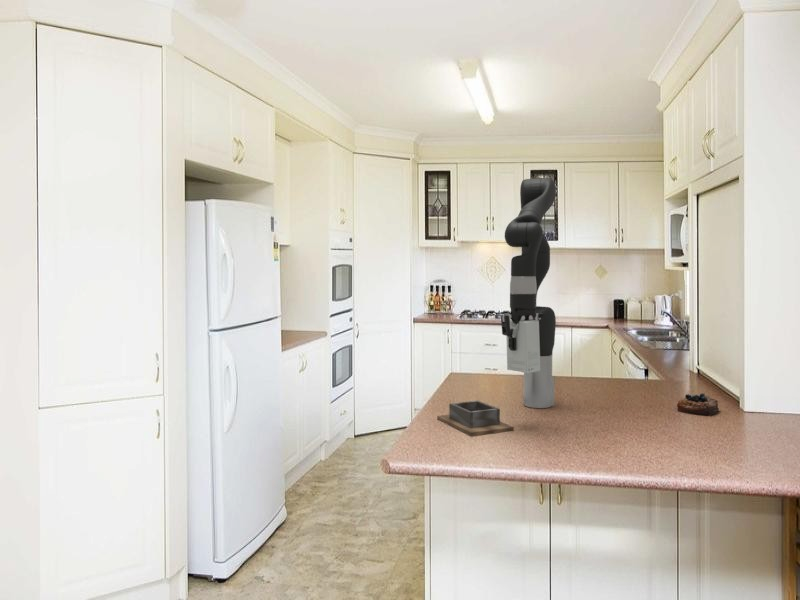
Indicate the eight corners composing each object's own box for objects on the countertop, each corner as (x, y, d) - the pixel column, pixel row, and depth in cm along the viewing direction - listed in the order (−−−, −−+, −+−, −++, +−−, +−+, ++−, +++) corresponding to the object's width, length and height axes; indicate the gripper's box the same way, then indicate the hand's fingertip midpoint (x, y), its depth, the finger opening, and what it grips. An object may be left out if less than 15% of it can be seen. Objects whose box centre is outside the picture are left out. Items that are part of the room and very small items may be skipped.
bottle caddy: (476, 414, 190) (476, 397, 189) (513, 430, 171) (513, 411, 171) (437, 419, 184) (437, 401, 184) (471, 436, 166) (471, 416, 165)
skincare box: (540, 371, 173) (541, 320, 172) (525, 373, 170) (526, 321, 169) (519, 367, 180) (520, 318, 179) (504, 369, 177) (505, 319, 176)
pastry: (722, 411, 194) (722, 393, 194) (710, 418, 186) (711, 399, 185) (686, 405, 202) (686, 388, 202) (673, 412, 193) (674, 394, 193)
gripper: (535, 291, 180) (534, 346, 181) (494, 292, 174) (494, 349, 175) (551, 292, 173) (550, 349, 174) (510, 293, 167) (509, 353, 168)
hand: (522, 349), depth 174 cm, fingers closed on skincare box, 6 cm apart
